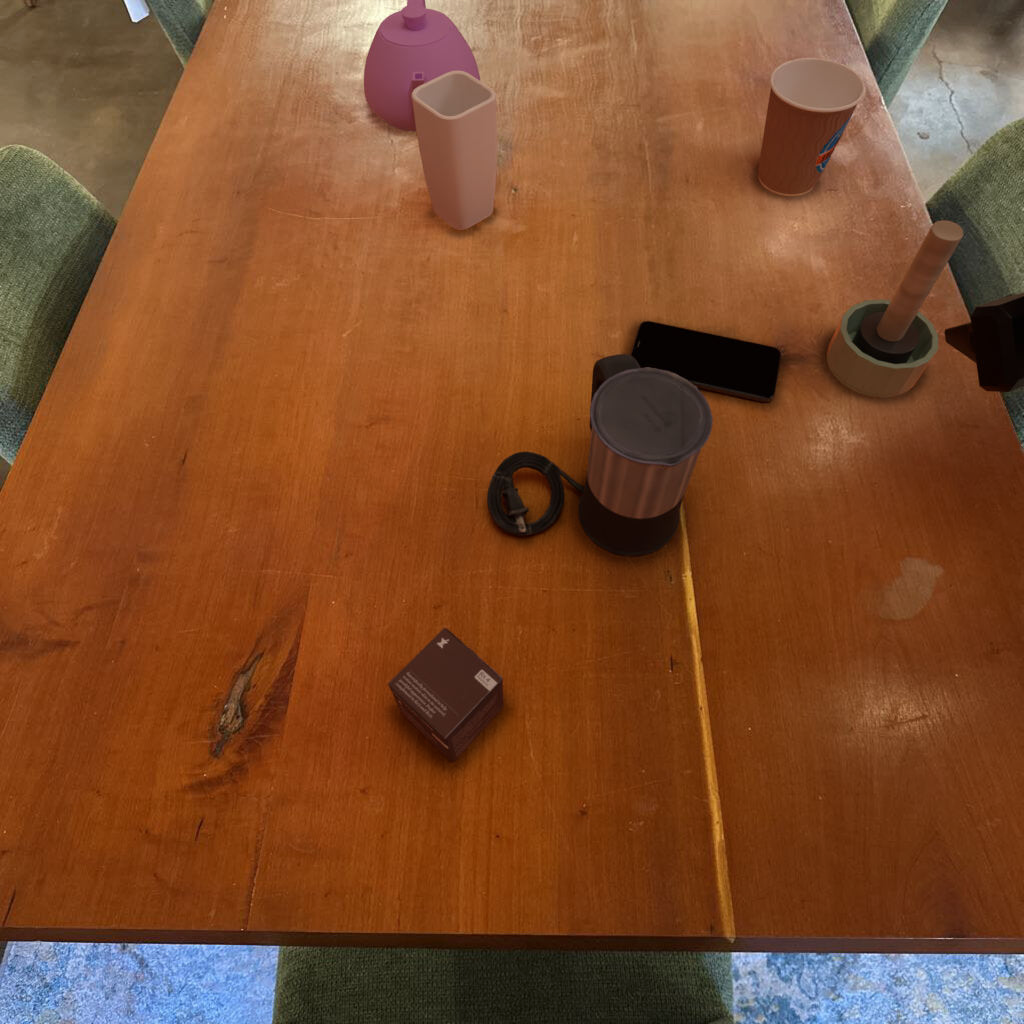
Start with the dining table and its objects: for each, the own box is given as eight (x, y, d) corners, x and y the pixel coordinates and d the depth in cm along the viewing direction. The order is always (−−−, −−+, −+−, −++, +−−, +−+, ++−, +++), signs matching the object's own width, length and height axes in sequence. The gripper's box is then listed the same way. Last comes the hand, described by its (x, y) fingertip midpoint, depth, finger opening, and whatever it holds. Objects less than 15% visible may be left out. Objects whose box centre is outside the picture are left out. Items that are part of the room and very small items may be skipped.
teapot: (368, 64, 109) (352, -30, 99) (476, 57, 110) (471, -37, 100) (366, 158, 98) (347, 62, 88) (487, 149, 99) (482, 53, 88)
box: (399, 712, 61) (384, 682, 54) (452, 659, 63) (444, 624, 57) (453, 765, 59) (444, 740, 52) (506, 708, 61) (504, 677, 54)
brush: (902, 385, 76) (984, 257, 63) (845, 375, 77) (913, 246, 63) (902, 345, 79) (980, 213, 65) (846, 335, 80) (912, 204, 66)
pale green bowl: (920, 342, 80) (940, 310, 76) (915, 407, 76) (936, 377, 72) (831, 323, 82) (846, 291, 78) (821, 386, 77) (836, 355, 73)
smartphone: (781, 352, 80) (639, 323, 82) (783, 347, 79) (641, 317, 81) (772, 406, 76) (624, 373, 78) (774, 401, 75) (625, 368, 78)
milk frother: (700, 527, 69) (739, 427, 56) (555, 614, 65) (562, 527, 52) (608, 423, 75) (624, 311, 63) (470, 496, 71) (458, 392, 58)
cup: (421, 213, 92) (404, 92, 80) (468, 187, 95) (458, 66, 82) (459, 243, 89) (447, 122, 77) (506, 216, 92) (502, 94, 79)
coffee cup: (820, 214, 91) (858, 117, 81) (735, 194, 93) (761, 98, 83) (835, 164, 96) (872, 67, 85) (754, 146, 98) (780, 50, 88)
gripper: (1307, 136, 48) (1071, 189, 63) (1075, 216, 45) (882, 251, 59) (1309, 312, 51) (1083, 322, 66) (1092, 399, 47) (904, 389, 62)
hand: (991, 318), depth 63 cm, fingers open, 9 cm apart
